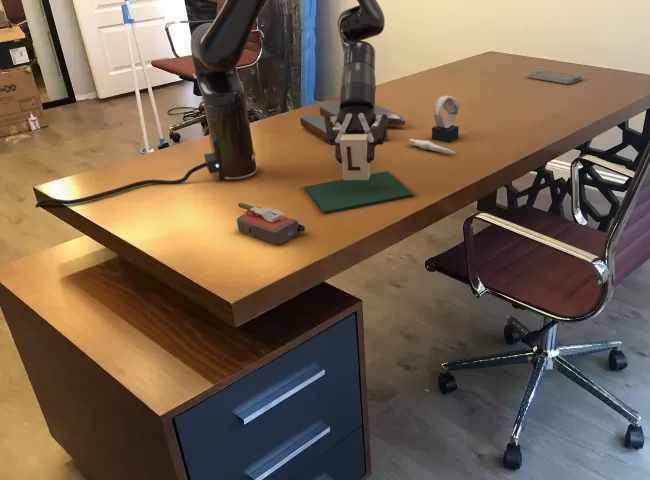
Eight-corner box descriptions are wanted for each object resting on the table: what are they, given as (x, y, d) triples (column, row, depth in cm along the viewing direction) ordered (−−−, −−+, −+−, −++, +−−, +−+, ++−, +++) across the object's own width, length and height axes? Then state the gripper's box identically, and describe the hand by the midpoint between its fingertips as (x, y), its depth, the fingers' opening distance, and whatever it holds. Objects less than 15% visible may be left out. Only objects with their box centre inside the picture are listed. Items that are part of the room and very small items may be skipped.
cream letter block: (343, 180, 141) (339, 140, 136) (345, 174, 144) (342, 134, 139) (368, 180, 140) (365, 139, 135) (370, 174, 143) (367, 133, 138)
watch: (462, 135, 174) (462, 94, 168) (446, 144, 169) (446, 101, 163) (444, 132, 177) (444, 91, 171) (428, 141, 172) (427, 98, 166)
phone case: (569, 84, 214) (569, 80, 214) (527, 77, 224) (528, 73, 223) (581, 79, 219) (582, 75, 219) (541, 72, 229) (541, 69, 228)
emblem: (419, 101, 185) (370, 129, 164) (419, 120, 187) (371, 150, 167) (335, 92, 196) (279, 117, 175) (337, 110, 199) (282, 137, 178)
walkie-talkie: (313, 230, 128) (244, 208, 138) (311, 210, 126) (240, 189, 136) (281, 248, 122) (211, 223, 133) (278, 227, 120) (207, 203, 130)
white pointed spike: (406, 145, 168) (406, 138, 167) (413, 143, 170) (413, 136, 169) (452, 158, 160) (452, 150, 159) (459, 155, 161) (459, 147, 160)
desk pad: (323, 213, 135) (323, 211, 134) (304, 188, 147) (304, 186, 146) (412, 196, 141) (412, 193, 141) (387, 173, 153) (387, 171, 152)
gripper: (321, 80, 139) (317, 154, 135) (389, 79, 138) (386, 153, 134) (328, 99, 146) (324, 169, 143) (392, 97, 145) (390, 169, 141)
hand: (354, 161), depth 138 cm, fingers closed on cream letter block, 5 cm apart
